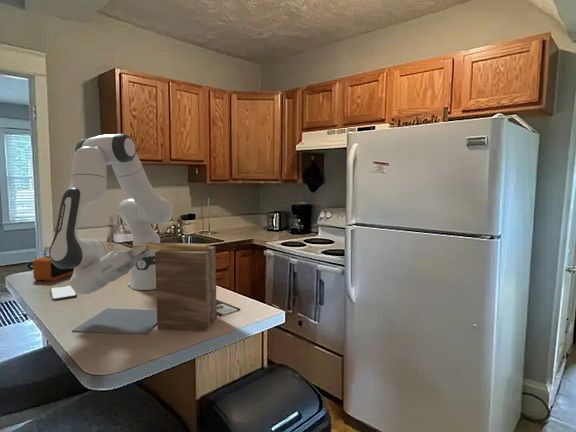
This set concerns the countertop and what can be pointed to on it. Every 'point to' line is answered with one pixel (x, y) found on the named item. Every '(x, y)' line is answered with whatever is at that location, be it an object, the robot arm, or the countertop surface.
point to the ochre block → (173, 246)
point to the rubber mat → (120, 321)
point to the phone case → (62, 293)
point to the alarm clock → (48, 270)
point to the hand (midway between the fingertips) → (150, 244)
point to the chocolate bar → (225, 308)
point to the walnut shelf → (186, 289)
